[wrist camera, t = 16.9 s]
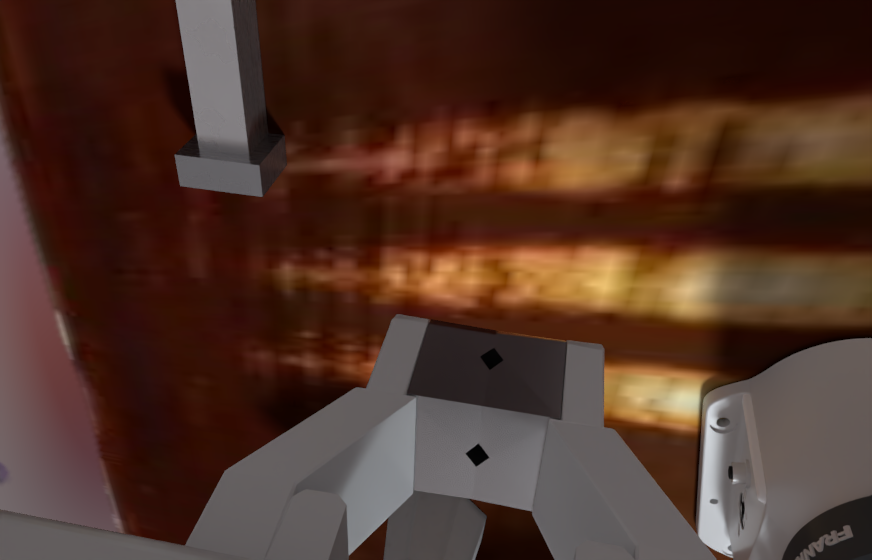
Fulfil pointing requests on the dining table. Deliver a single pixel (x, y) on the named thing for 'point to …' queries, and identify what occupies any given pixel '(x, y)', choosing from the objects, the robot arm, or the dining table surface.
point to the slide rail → (226, 101)
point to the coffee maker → (434, 528)
